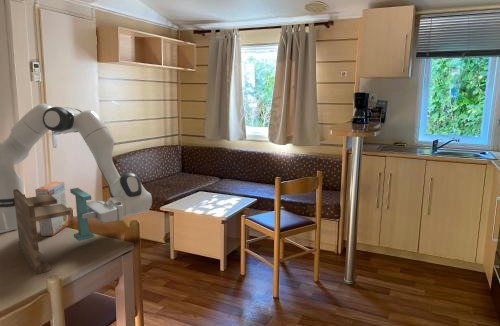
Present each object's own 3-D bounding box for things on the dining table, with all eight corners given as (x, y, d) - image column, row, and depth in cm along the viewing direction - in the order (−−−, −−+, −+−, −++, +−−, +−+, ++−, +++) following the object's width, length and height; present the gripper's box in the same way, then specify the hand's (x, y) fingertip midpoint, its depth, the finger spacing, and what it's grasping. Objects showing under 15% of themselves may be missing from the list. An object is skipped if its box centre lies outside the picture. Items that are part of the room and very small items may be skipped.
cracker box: (56, 225, 180) (52, 181, 176) (69, 225, 179) (65, 181, 176) (39, 236, 166) (34, 188, 162) (53, 236, 166) (48, 189, 162)
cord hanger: (85, 230, 162) (81, 187, 159) (98, 241, 150) (95, 195, 147) (70, 233, 158) (66, 189, 155) (82, 245, 146) (78, 197, 143)
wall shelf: (54, 241, 160) (48, 184, 156) (75, 263, 139) (69, 199, 135) (20, 248, 153) (13, 189, 148) (36, 274, 131) (29, 206, 127)
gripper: (104, 195, 168) (71, 201, 159) (123, 206, 153) (87, 213, 144) (105, 209, 169) (72, 215, 160) (124, 221, 154) (88, 229, 145)
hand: (79, 214), depth 152 cm, fingers closed on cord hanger, 3 cm apart
